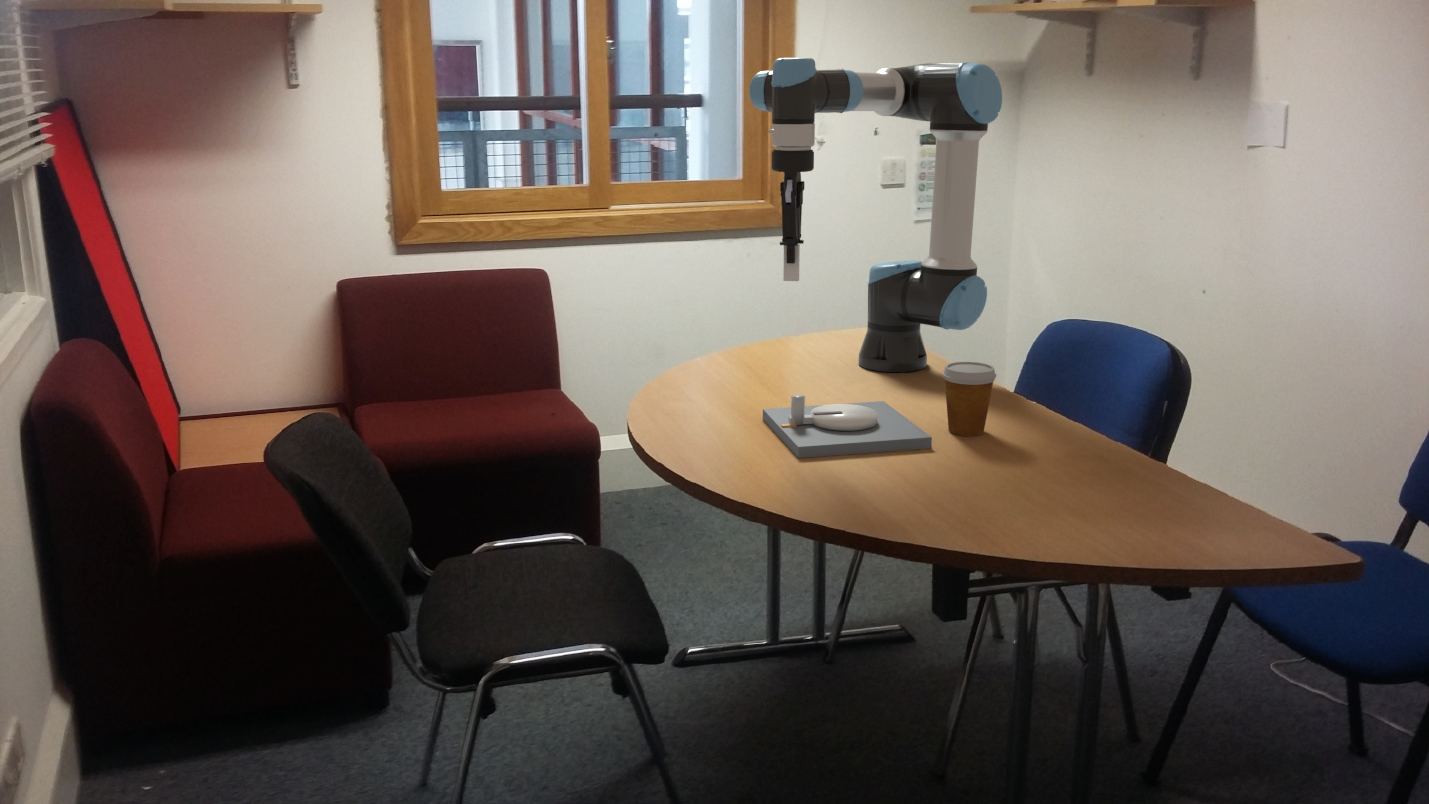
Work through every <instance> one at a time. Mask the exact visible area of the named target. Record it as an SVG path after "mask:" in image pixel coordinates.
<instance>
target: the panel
mask: <svg viewBox="0 0 1429 804" xmlns="http://www.w3.org/2000/svg"><path fill="white" fill-rule="evenodd" d="M846 404H853V405H860V406H865V407H869V408H871V409H874V410H875V411H876V412H877V413H878V417H877V424H876V425H875V426H873V427H871V428H867V429H862V430H852V431H842V430H831V429H825V428H821V427H818V426H816V425H814V424H802V425H790V424H789V422H788V418H789V416H791V406H787V407H773V408H772V407H771V408H762V421H764V423H766V425H767V426H768V427H769V428H770V429H771V430H772V431H773V432H774V433H775V434H776V435H777V437H778V438H779V439H780V440H781V441H782V442H783V443H784V445H786V447H787V448H789V450H790V451H791V452H792V453H793V454H794V455H795V456H796V458H797V459H805V458H818V457H830V456H831V457H832V456H845V455H858V454H861V455H862V454H870V453H871V454H872V453H882V452H883V453H884V452H898V451H910V450H912V451H913V450H926V449H932V443H933V441H932V440H933V437H932V436H931V435H930V434H928V433H927V432H926V431H924V430H923V429H922V428H920V427H919V426H918V425H916V424H915V423H914V422H912V421H911V420H909V419H908V418H907V417H906V416H904V415H903V414H901V413H900V412H899V411H898V410H897V409H895V408H894V407H892V406H891V405H889V404H888V403H887V402H886V401H885V400H881V401H880V400H879V401H877V400H876V401H864V402H850V403H849V402H847V403H846ZM823 405H824V404H818V405H816V404H815V405H805V414H804V415H811V410H812V409H814V408H816V407H819V406H823Z"/></svg>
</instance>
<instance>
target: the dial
mask: <svg viewBox="0 0 1429 804" xmlns="http://www.w3.org/2000/svg"><path fill="white" fill-rule="evenodd" d="M805 399H806V396H805V395H804V394H791V398H790V407H791V416H789V418H788V422H789V424H790V425H802V424H814V425H816V426H818V427H821V428H825V429H831V430H842V431H852V430H862V429H867V428H871V427H873V426H875V425H876V424H877V417H878V413H877V412H876V411H875V410H874V409H871V408H869V407H865V406H860V405H853V404H847V403H831V404H822V405H823V406H819V407H816V408H814V409H812V410H811V415H804V414H805V406H806V404H805V403H806V401H805Z"/></svg>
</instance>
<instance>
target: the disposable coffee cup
mask: <svg viewBox="0 0 1429 804" xmlns="http://www.w3.org/2000/svg"><path fill="white" fill-rule="evenodd" d="M995 372H996V371H995V368H994V366H992V365H991V364H988V363H985V362H978V361H955V362H954V361H953V362H949V363H947V364H945V366H944V370H943V371H941V374H942V376H943V379H944V388H945V400H946V401H945V402H946V412H947V413H946V415H947V416H946V417H947V425H948V432H950V433H951V434H953V435H956V436H962V437H976V436H980V435H983V434H984V432H985V428H986V424H987V423H986V422H987V417H988V413H989V407H990V401H991V396H992V391H993V385H994V381H995V379H996V378H997V373H995Z"/></svg>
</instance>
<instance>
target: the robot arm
mask: <svg viewBox="0 0 1429 804" xmlns="http://www.w3.org/2000/svg"><path fill="white" fill-rule="evenodd" d="M748 94H749V99H750V102H751V104H752V105H753V106H754V108H755V109H757V110H759V111H761V112H769V113H771V115H772V116H771V117H772V120H771V123H772V124H771V128H770V129H768V130H769V131H768V134H769V135H770V136H771V135H772V137H771V145H772V147H774V148H775V149H773V150H772V151H771V170H772V171H773V172H778V173H779V172H780V173H784V176H783V180H782V181H780V184H779V188H780V189H779V192H780V198H781V223H782V224H781V225H782V229H781V230H782V239H781V241H779V246H783V277H782V278H783V280H782V281H784V282H800V251H801V250H800V245H803V244H804V242H805V241H804V239H801V238H802V216H803V215H802V214H803V213H802V209H803V204H804V190H805V181H804V180H802V173H808V172H812V171H813V170H814V168H815V167H814V165H815V151H814V150H813V149H812V147H814V146H815V143H816V142H815V138H816V135H815V134H816V133H815V131H816V129H815V128H816V123H815V121H816V120H815V119H816V117H815V116H816V115H815V114H816V113H818V114H820V113H821V114H823V113H825V114H827V113H828V114H829V113H834V114H835V113H837V114H843V113H846V112H874V113H875V114H876V115H879V116H881V117H896V118H901V119H907V120H912V121H913V120H914V121H919V122H929V132H930V133H931V135H932V136H934V138H935V141H936V142H935V158H934V159H935V160H934V172H933V173H934V175H933V177H934V178H933V188H932V189H933V191H932V204H931V205H932V206H931V221H930V232H929V233H930V235H929V251H928V256H927V258H925V259H924V260H923V261H921V260H901V261H899V260H898V261H887V262H883V263H878V264H877V263H876V264H873V266H871V268H870V269H869V274H868V282H867V326H866V327H867V328H866V329H867V330H866V333H865V335H864V339H863V341H862V345H861V347H860V350H859V352H858V365H859V366H860V367H862V368H863V369H866V370H871V371H877V372H884V373H909V372H915V371H916V372H917V371H920V370H923V369H925V368H926V367H927V365H928V364H927V363H928V355H927V351H926V348H925V343H924V341H923V337H922V333H921V325H926V326H932V327H938V328H942V329H944V330H948V331H949V330H957V331H962V330H966V329H969V328H971V327H973V325H974V324H975V323H977V321H978V320H979V318H980V317H981V315H982V313H983V311H984V309H985V307H986V303H987V300H988V298H987V297H988V289H987V285H986V282H985V280H984V279H983V278H982V277H980V276H978V275H977V274H978V264H977V263H976V262H975V261H974V259H972V257H971V256H972V254H971V253H972V241H973V229H974V216H975V215H974V214H975V200H976V187H977V176H978V173H977V171H978V162H979V149H980V148H979V146H980V140H981V139H982V138H983V137H984V136H985V135H986V134H987V133H988V128H989V127H988V126H989V124H990V123H993V122H994V121H995V120H996V119H997V118H998V116H999V113H1000V111H1001V108H1002V104H1003V90H1002V84H1001V82H1000V80H999V77H998V76H997V75H996V72H995V71H994V70H993V68H991V67H990V66H989V65H986V64H985V63H976V62H970V61H967V62H949V63H946V62H945V63H920V64H914V65H908V66H907V65H906V66H900V67H885V68H884V67H883V68H881V69H879V70H877V71H876V72H858V71H857V72H855V71H854V70H850V69H844V68H841V69H840V68H837V69H817V67H816V61H815V59H814V58H812V57H780V58H777V59H775V60H774V61H773V64H772V69H769V70H762V71H759V72H757V73H756V74H755V75H754V76H753V77H752V78H751V80H750V83H749V93H748Z"/></svg>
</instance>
